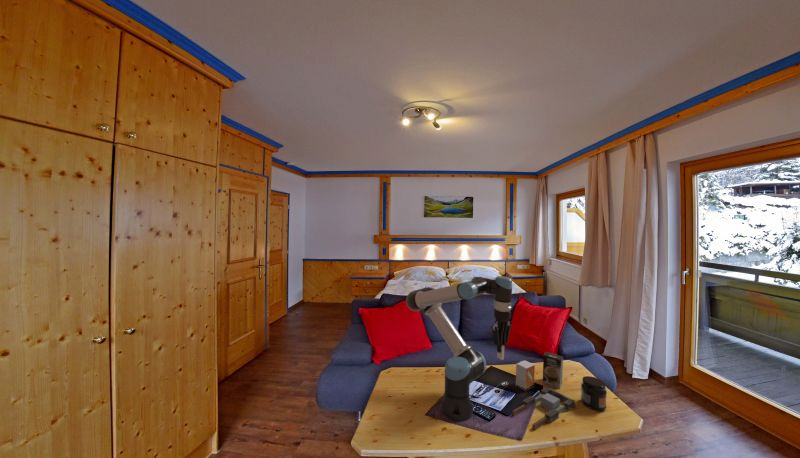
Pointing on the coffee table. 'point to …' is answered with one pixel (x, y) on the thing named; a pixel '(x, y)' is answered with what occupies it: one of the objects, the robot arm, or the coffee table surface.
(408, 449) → the coffee table surface
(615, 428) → the coffee table surface
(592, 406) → the supplement container
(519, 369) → the small box
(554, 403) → the slate block
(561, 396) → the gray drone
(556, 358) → the coffee box
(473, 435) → the coffee table surface
